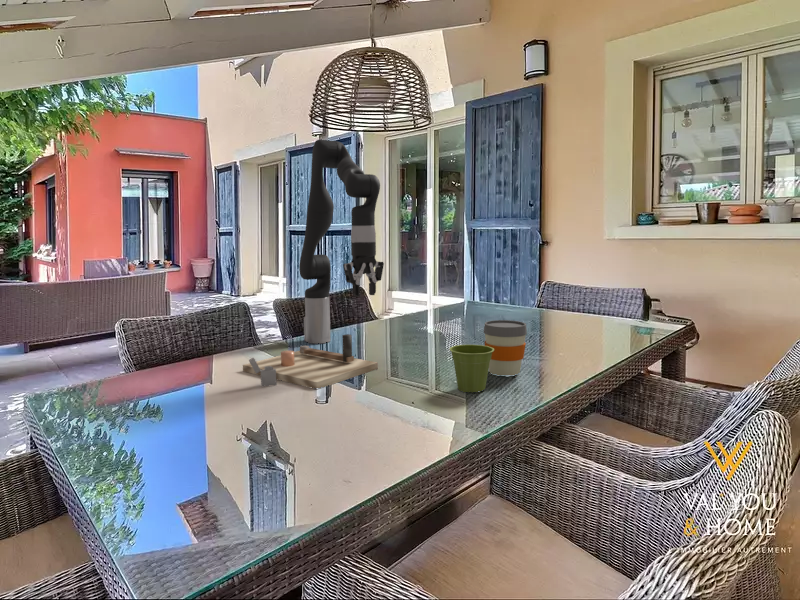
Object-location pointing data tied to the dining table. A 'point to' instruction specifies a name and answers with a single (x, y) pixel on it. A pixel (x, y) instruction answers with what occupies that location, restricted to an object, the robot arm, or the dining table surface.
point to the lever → (331, 355)
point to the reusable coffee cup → (505, 345)
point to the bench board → (314, 369)
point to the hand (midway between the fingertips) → (364, 295)
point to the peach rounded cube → (287, 358)
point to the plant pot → (471, 366)
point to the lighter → (265, 373)
